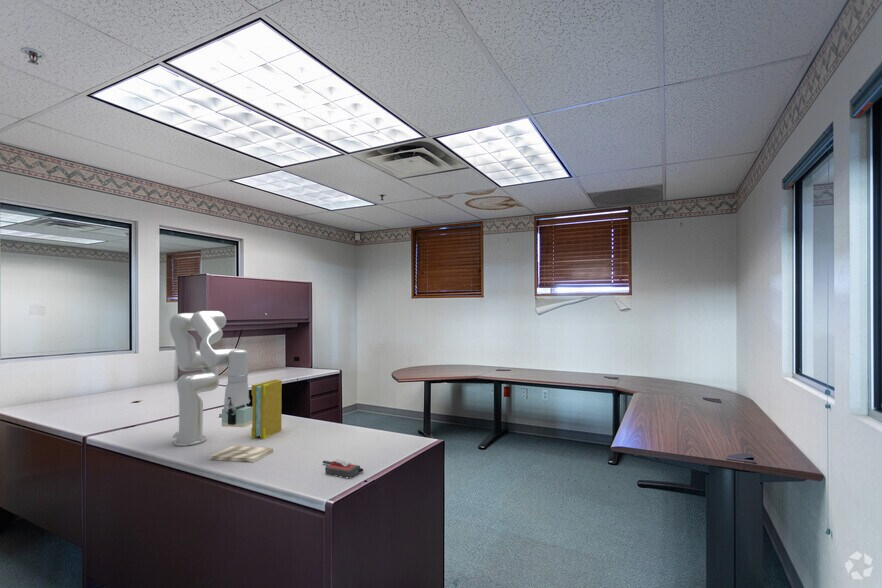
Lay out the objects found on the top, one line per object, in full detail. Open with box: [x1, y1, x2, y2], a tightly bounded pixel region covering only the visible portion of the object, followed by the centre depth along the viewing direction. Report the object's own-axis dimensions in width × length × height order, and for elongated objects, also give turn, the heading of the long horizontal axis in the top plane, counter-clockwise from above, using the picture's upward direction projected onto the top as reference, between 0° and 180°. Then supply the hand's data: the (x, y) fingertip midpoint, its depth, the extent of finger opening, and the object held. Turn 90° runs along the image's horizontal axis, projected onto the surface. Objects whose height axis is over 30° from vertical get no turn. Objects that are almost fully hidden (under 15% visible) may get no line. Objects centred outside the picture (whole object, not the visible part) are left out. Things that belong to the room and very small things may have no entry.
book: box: [250, 379, 283, 440], centre depth 205 cm, size 17×7×25 cm, turn 168°
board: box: [209, 445, 274, 463], centre depth 172 cm, size 20×13×2 cm, turn 78°
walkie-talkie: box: [322, 459, 364, 479], centre depth 153 cm, size 9×4×20 cm
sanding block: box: [221, 406, 253, 428], centre depth 175 cm, size 10×6×7 cm, turn 81°
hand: (237, 421), depth 174 cm, fingers closed on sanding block, 6 cm apart
